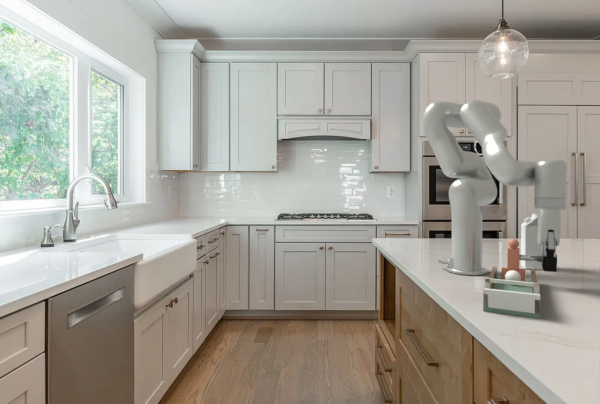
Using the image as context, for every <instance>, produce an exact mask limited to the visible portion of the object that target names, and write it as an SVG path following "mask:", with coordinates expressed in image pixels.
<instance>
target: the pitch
mask: <svg viewBox="0 0 600 404" xmlns="http://www.w3.org/2000/svg"><path fill="white" fill-rule="evenodd" d="M497 270H498V267H497V266H493V267H492V268H491V272H490V274H489V277H488V278H491V279H501V280H505V279H502V276H498V273H497V272H498V271H497ZM522 282H532V283H538V279H537V274H536V269H530V279H529V278H525V281H522ZM490 289H497V290H506V291H515V292H525V293H534V287H530V286H520V285H510V284H500V283H491V282H490ZM485 295H486V294H485ZM485 295H484V294H483V297H485V298H486V297H487V296H488V294H487V296H485ZM483 297H482V298H483ZM485 298H483V299H484V300H482V301H486V300H487V299H488V298H487V299H485ZM537 302H539V303H540V304H541V299H540V300H538V301H536V300H535V303H536V304H538V305H537V306H538V308H537V306H536V304H535V313H528V312H520V311H512V310H505V309H497V308H489V307H488V305H487V304H488V300H487V302H486V303H487V304H485V305H484V303H485V302H484V303H483V302H482V304H483V305H482V309H483V310H482V311H483V312H488V313H494V314H502V315H503V314H504V315H511V316H518V317H525V318H530V319H538V318H539V320H540V319H541V305H540V306H539V303H537ZM483 306H484V307H483ZM486 306H487V307H486ZM536 309H540V310H536ZM536 311H540V312H536ZM536 313H540V314H536Z"/></svg>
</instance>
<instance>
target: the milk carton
mask: <svg viewBox="0 0 600 404" xmlns="http://www.w3.org/2000/svg"><path fill="white" fill-rule="evenodd" d="M523 221H524V222H522V223H521V225H520V226H521V227H520V255H533V256H542V254H543V244H541V245H539V244H538V242H537V234H538V233H537V232H538V213H537V214H536V213H532V214H531V217H530V216H527V217H526V218H525V219H524V220H523ZM520 267H522V268H523V269H525V270H539V271H542V270H543V268H542V262H538V261H524V260H520Z"/></svg>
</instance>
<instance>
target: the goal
mask: <svg viewBox="0 0 600 404" xmlns="http://www.w3.org/2000/svg"><path fill="white" fill-rule="evenodd" d="M484 281H485V282H484V288H483V289H482V290H483V294H484V295H485V294H486V295H485V296H487V294H488V296H487V297H486V298H485V297H482V298H485V299H487V298H488V299H487V300H488V304H487V303H486V302H487V300H486V301H483V300H484V299H483V300H482V301H483V302H482V304H483V303H484V302H485V303H484V305H485V304H487V305H488V307H489V308H497V309H505V310H512V311H520V312H528V313H535V304H536V303H535V300H536V301H538V300H540V301H541V294H540V283H539V282H537V283H532V282H522V281H512V280H501V279H491V278H489V277H485V279H484ZM490 282H491V283H500V284H510V285H520V286H530V287H534V293H525V292H515V291H506V290H497V289H490ZM537 303H539V302H537ZM537 305H538V304H536V306H537ZM539 306H540V307H541V302H540V303H539ZM483 307H484V306H483V305H482V308H483ZM486 307H487V306H486ZM537 308H538V306H537ZM536 310H540V311H536V312H540V313H536V314H540V315H541V308H540V309H536Z"/></svg>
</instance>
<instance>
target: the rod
mask: <svg viewBox="0 0 600 404" xmlns="http://www.w3.org/2000/svg"><path fill="white" fill-rule="evenodd" d="M507 244H508V247H507V264H506V265H507V267H506V266H502V267H501V277H502V279H505V274H506V273H507V272H508V271H511V270H514V271H517V272H518V273H519V274H520V275H521V281H525V279H526V269H525V268H520V261H521V260H524V261H538V262H542V264H543V256H544V254H542V256H533V255H521V247H520V248H519V246H520V242H519V240H518V239H516V238H510V239H509V240H508V242H507ZM556 257H557V258H558V254H556Z"/></svg>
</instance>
